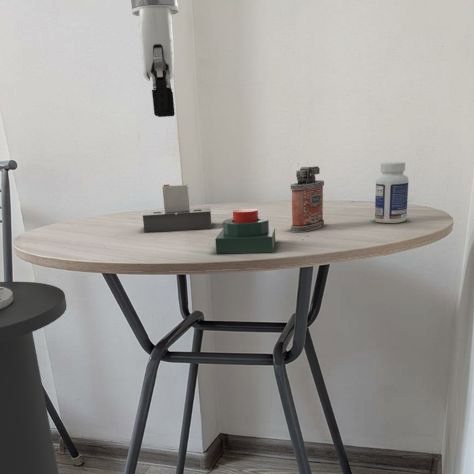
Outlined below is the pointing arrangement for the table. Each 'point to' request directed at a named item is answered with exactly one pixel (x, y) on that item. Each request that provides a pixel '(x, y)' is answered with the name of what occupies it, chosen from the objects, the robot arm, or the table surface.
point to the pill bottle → (391, 193)
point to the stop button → (245, 215)
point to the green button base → (245, 237)
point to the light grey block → (176, 198)
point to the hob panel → (177, 220)
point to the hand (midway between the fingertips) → (165, 116)
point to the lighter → (307, 200)
